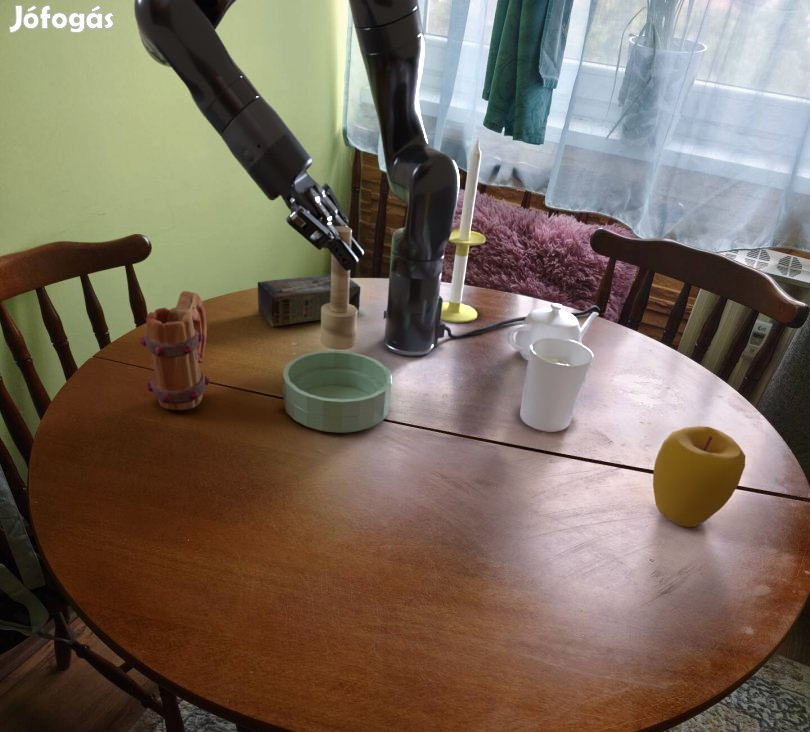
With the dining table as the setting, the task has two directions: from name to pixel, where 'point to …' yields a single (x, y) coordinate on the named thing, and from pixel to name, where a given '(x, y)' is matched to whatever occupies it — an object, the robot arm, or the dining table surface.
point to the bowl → (336, 391)
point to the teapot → (547, 328)
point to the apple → (696, 474)
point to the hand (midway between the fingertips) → (355, 262)
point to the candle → (464, 246)
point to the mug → (178, 352)
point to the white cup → (554, 382)
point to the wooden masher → (339, 305)
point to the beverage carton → (298, 299)
